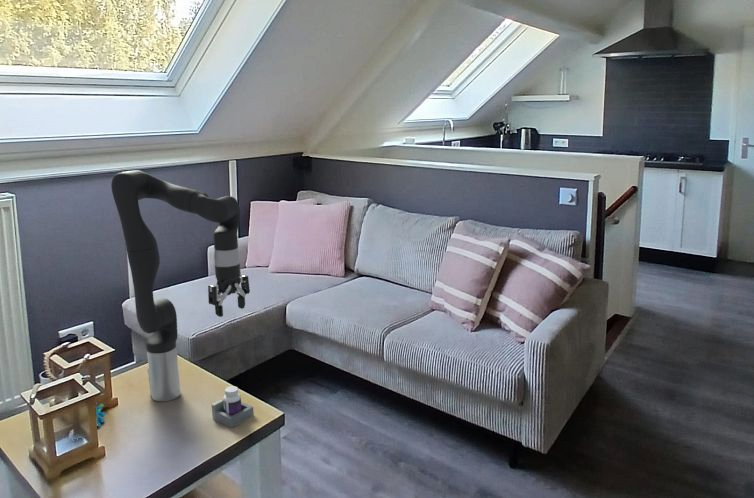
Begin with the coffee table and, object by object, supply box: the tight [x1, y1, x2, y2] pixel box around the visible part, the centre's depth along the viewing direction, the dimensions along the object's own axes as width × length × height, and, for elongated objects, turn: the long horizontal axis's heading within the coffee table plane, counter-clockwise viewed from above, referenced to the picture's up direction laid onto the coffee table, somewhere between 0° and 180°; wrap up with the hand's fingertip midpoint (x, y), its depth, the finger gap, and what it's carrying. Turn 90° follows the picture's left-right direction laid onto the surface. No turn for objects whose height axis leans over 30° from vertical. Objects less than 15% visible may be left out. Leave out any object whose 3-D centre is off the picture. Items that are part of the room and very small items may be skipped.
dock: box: [211, 398, 255, 428], centre depth 192 cm, size 9×9×5 cm
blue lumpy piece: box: [95, 402, 106, 428], centre depth 189 cm, size 11×6×10 cm
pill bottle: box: [222, 385, 242, 416], centre depth 192 cm, size 5×5×10 cm
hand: (230, 312), depth 192 cm, fingers open, 8 cm apart
